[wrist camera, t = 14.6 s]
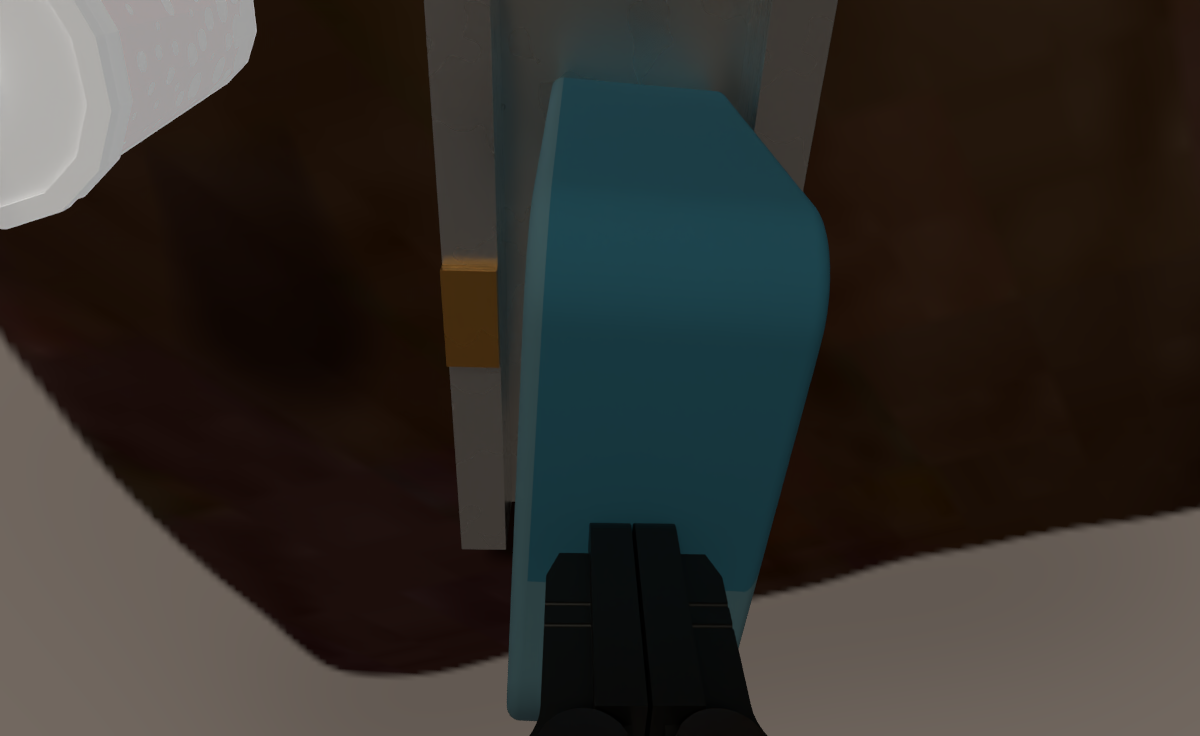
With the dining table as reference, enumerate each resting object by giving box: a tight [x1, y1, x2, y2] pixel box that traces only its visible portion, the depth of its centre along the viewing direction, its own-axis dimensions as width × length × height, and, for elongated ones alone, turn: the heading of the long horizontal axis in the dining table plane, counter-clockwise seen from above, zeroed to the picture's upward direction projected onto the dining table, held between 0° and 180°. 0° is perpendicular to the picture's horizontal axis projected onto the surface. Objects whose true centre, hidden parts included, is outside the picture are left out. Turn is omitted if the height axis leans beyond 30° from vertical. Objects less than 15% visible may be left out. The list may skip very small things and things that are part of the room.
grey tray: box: [424, 0, 838, 550], centre depth 23 cm, size 10×18×4 cm, turn 178°
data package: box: [507, 77, 830, 721], centre depth 18 cm, size 12×4×12 cm, turn 175°
